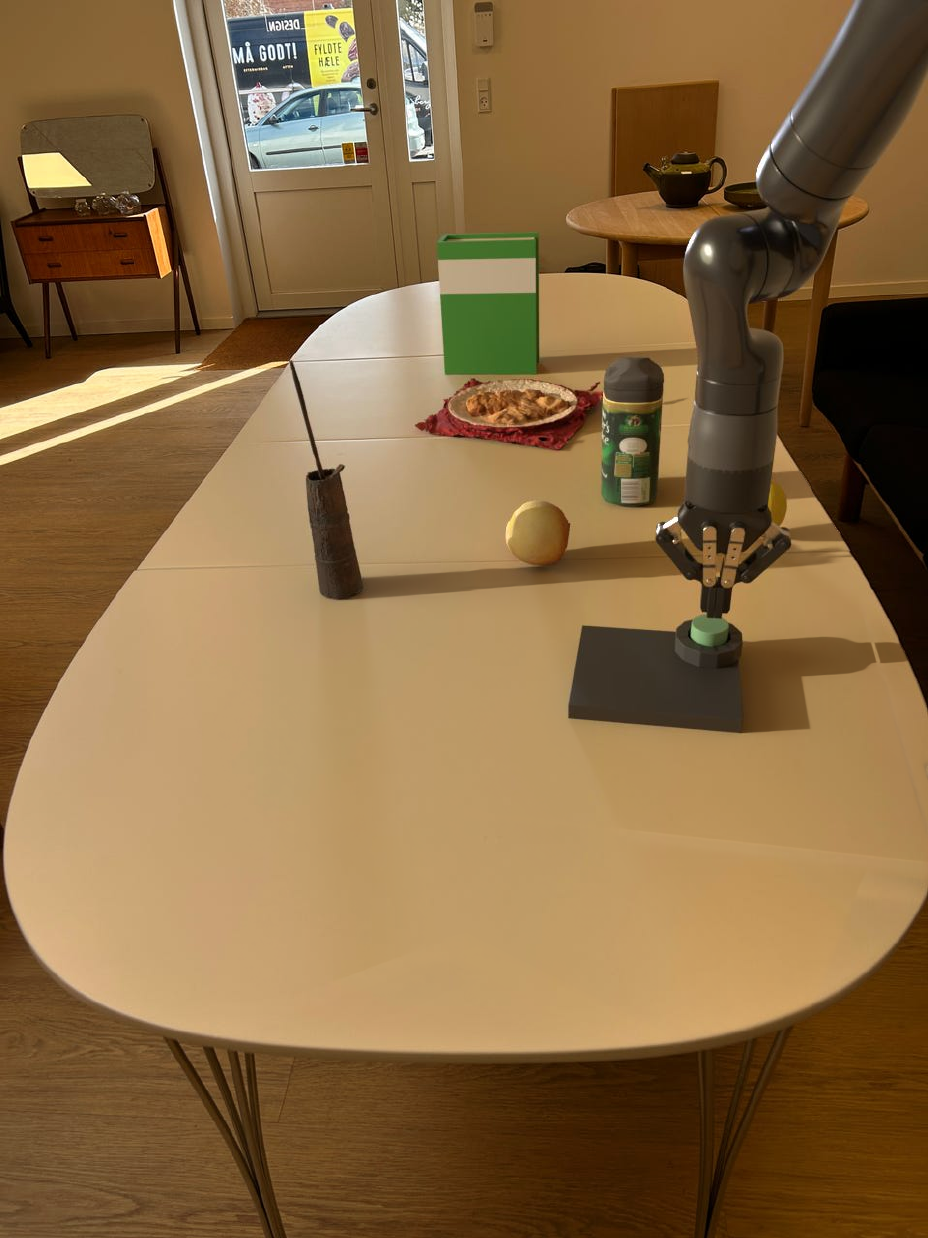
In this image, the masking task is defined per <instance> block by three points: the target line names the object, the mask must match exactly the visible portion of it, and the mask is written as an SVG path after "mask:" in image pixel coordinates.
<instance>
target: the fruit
mask: <svg viewBox="0 0 928 1238" xmlns="http://www.w3.org/2000/svg"><path fill="white" fill-rule="evenodd" d="M570 530H571V522H569V519H567V517H566V515H565V513H564V511H563V510H562V509H561V508H560V507H558V506H557V505H556V504H553V503H551V502H550V501H544V500H530V501H526V502H524V503H523V504H521V506H520V507H518V508H517V509H516V510H515V511H514V513H513V514H512V517H511V518H510V519H509V520H508V522H507V525H506V529H505V543H506V545H507V547H508V549H509V550H510V552H511V553H512V555H514V557H515V558H516V559H518V560H519V561H521V562H523V563H526V564H528V565H532V566H546V565H548V566H549V565H551V564H552V565H553V564H554V565H555V564H556V562H557V561H558V562H559V561H560V559H561V558H562V557H563V556H564V555H565V553H566V550H567V548H568V545H569V540H570V539H569V538H570Z"/></svg>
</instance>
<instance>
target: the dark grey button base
mask: <svg viewBox="0 0 928 1238" xmlns="http://www.w3.org/2000/svg"><path fill="white" fill-rule="evenodd" d="M693 619H694V618H692V619H689V620H685V621H683V622H682V623H680V624H679V625H678V626H677V627H676V628H675V631H673V630H671V631H670V630H660V629H659V630H655V629H643V628H642V629H641V628H629V627H628V628H627V627H614V626H613V627H612V626H600V625H599V626H598V625H584V624H583V625H581V628H580V629H581V630H580V635H579V640H578V647H577V651H576V659H575V663H574V671H573V676H572V681H571V688H570V693H569V698H568V705H567V718H568V719H571V720H572V719H573V720H583V721H594V722H606V723H607V722H608V723H618V724H630V725H642V726H653V727H663V728H664V727H665V728H676V729H687V730H697V731H698V730H699V731H709V732H710V731H711V732H720V733H733V734H742V729H743V721H744V715H743V702H742V701H743V699H742V690H741V689H742V688H741V676H740V663H739V659H740V658H741V657H742V651H743V643H744V642H743V641H744V640H743V633H742V631H741V630H740V629H739V628H737V626H735V625H734V624H733V623H732V622H728V624H729V629H728V637H727V642H726V643H725V644H724V645H722V646H718V647H707V646H702V645H699V644H697V643H694V642H693V641H692V639H691V626H692V621H693Z"/></svg>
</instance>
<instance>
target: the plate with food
mask: <svg viewBox="0 0 928 1238" xmlns="http://www.w3.org/2000/svg"><path fill="white" fill-rule="evenodd" d="M599 385H601V381H598V382H595V383H594V385H591V386H590V388H588V389H587V390H580V389H579V390H578V389H575V390H573V388H570V387H567V386H565V385H563V384H556V383H552V382H548V381H543V380H540V379H538V380H535V379H531V378H530V379H528V378H527V379H525V378H524V379H521V378H520V379H516V378H515V379H506V380H494V381H491V380H489V381H487V382H483V381H479V380H476V378H475V377H471V378H470V380H467V382H466V383H464V385H463V386H462V387H461V388H460V389H458V390H456V391H455V393H453V395H452V396H450V397H448V398H443V402H444V403H443V405H442V408H441V409H440V410H439V411H438V412H437V413H434V414H433V413H432V414H429V415H428V417H427V418H426V419H425V418H424V419H423V421H420V422H417V423H416V424H415V423H414V427H415V428H417V429H418V430H420V432H423V431H424V430H425V432H426V433H427V432H428V435H439V436H444V437H452V438H453V437H454V436H462V437H466V438H480V439H485V440H488V441H489V440H490V441H491V440H493V441H496V442H500V443H517V444H519V445H520V446H525V445H526V446H532V447H534V446H536V447H538V448H543V449H546V450H548V449H549V450H553V451H556V450H561V449H562V447H563V446H564V445H566V443H567V440H570V439H571V438H572V437H573V435H574V434H575V433H576V432H577V430H578V429H579V428H580V427H581V426H582V425H583V424H584V422H585V420H586V417H587V414H586V413H584V412H583V411H589V410H590V409H595V408H596V407H597V406H598V405H599V404H600V402H601V398H603V390H601V391H595V390H596V389H597V388H598V386H599ZM590 392H592V393H590ZM539 438H546V440H541V439H539Z"/></svg>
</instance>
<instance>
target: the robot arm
mask: <svg viewBox="0 0 928 1238" xmlns="http://www.w3.org/2000/svg"><path fill="white" fill-rule="evenodd" d="M809 77H810V78H809V79H808V80H807V82H806V84H805V86H804V87H803V88H802V91H801V92H800V93H799V95H798V97H797V98H796V100H795V102H794V103H793V105H792V106H791V108H790V110H789V111H788V113H787V114H786V116H785V118H784V119H783V121H782V123H781V124H780V126H779V128H778V129H777V130H776V133H775V134H774V136H773V138H772V139H771V141H770V142H769V144H768V146H767V147H766V149H765V151H764V153H763V155H762V157H761V159H760V161H759V163H758V166H757V171H756V173H755V174H756V177H755V184H756V189H757V193H758V195H759V197H760V198H761V200H762V201H763V204H764V205H766V206H767V207H765V208H761V209H760V208H759V209H754V210H748V211H743V212H735V213H728V214H723V215H717V216H714V217H711V218H708V219H707V220H706V221H704V222H702V223H701V224H700V225H699V226H698V227H697V228H696V230H695V232H694V233H693V235H692V236H691V238H690V240H689V242H688V244H687V247H686V251H685V253H684V258H683V267H682V270H683V272H682V273H683V274H682V275H683V284H684V289H685V290H684V291H685V295H686V299H687V305H688V309H689V312H690V313H689V314H690V319H691V326H692V331H693V332H692V333H693V335H694V341H695V347H696V352H697V367H696V375H695V376H696V378H695V390H694V404H693V408H692V414H691V417H690V423H689V430H688V431H689V432H688V436H687V455H686V456H687V457H686V458H687V459H686V469H685V470H686V471H685V483H684V484H685V485H684V495H683V496H684V497H683V501H682V504H681V505H680V507H679V508H678V510H677V516H675V517H674V518H672V519H671V520H669V521H667V522H666V521H660V522H658V523H657V524H656V528H655V537H654V538H655V539H654V541H655V542H656V543H657V545H658V546H659V547H660V548H661V550H662V551H663V552H664V554H666V556H667V557H668V558H669V559H670V561H671V563H673V564H674V566H675V567H676V568H677V570H678V571H679V572H680V573H681V575H682V576H683V577H684V578H685V579H686V580H687V581H693V580H694V581H696V582H699V583H700V584H701V588H700V596H699V597H700V599H699V604H700V605H699V608H700V612H701V613H705V614H707V618H717V619H722V618H723V614H725V615H726V614H728V613H729V612H730V610H731V603H732V594H733V588H734V586H735V585H736V584H739V583H743V584H751V583H752V582H754V581H755V580H756V579H757V578H759V576H760V575H761V574H763V573H764V572H765V571H766V570H767V569H768V568H769V567H770V566H772V565H773V564H774V563H775V562H776V561H777V560H778V559H780V557H782V556H783V555H784V554H785V553H787V551H789V549H791V547H792V537H791V533H790V529H789V528H787V527H786V526H778V525H776V524H775V523H774V522H772V517H771V512H770V510H769V508H768V501H769V494H770V486H771V480H772V477H773V470H774V463H775V461H774V460H775V453H776V446H777V438H778V427H779V426H778V425H779V422H778V420H779V419H778V418H779V417H778V408H779V396H780V388H781V381H782V375H783V374H782V373H783V368H784V367H783V366H784V345H783V342H782V340H781V338H780V337H779V336H778V335H776V334H775V333H774V332H772V331H769V330H766V329H762V328H757V327H750V325H749V319H748V307H749V305H753V304H757V303H764V302H768V301H774V300H779V299H782V298H785V297H788V296H790V295H793V294H794V293H796V292H797V291H799V290H800V289H801V288H802V287H803V286H804V285H805V284H807V283H808V282H809V281H810V280H811V279H812V278H813V276H814V275H815V274H816V273H817V271H818V270H819V268H820V266H821V265H822V263H823V261H824V259H825V257H826V254H827V251H828V249H829V247H830V245H831V242H832V239H833V237H834V235H835V233H836V232H837V228H838V226H839V223H840V221H841V217H842V214H843V212H844V209H845V206H846V203H848V201H849V200H850V199H851V198H852V196H853V195H854V194H855V192H856V191H857V190H858V189H859V187H860V186H861V185H862V183H863V182H864V180H866V178H867V176H868V175H869V174H870V172H871V171H872V170H873V168H874V167H875V166H876V164H877V163H878V162H879V161H880V160H881V158H882V157H883V156H884V155H885V153H886V151H887V150H888V148H889V147H890V145H892V143H893V141H894V140H895V138H896V137H897V135H898V134H899V132H900V131H901V129H902V128H903V126H904V124H905V122H906V120H907V119H908V118H909V115H910V114H911V112H912V110H913V108H914V106H915V104H916V102H917V100H918V98H919V96H920V94H921V91H922V89H923V87H924V85H925V82H926V80H927V78H928V0H853V1H852V3H851V5H850V7H849V9H848V11H847V12H846V15H844V18H843V20H842V22H841V24H840V26H839V27H838V29H837V31H836V33H835V35H834V37H833V39H832V41H831V42H830V44H829V45H828V47H827V49H826V51H825V53H824V54H823V55H822V57H821V58H820V61H819V63H818V64H817V66H816V68H814V71H813V72H812V74H811V76H809ZM682 530H683V532H684V533H685V535H686V536H687V538H688V539H689V540H690V541H691V543H692V544H693V546H694V548H696V549H697V550H698V551H700V552H701V553H702V562H699V561H698V560H697V558H696V557H694V554H692V553H691V551H690V550H689V549H688V548H687V546H686V545H685V544H684V543H683V540H682V539H683V532H682ZM765 532H766V533H765ZM764 533H765V534H764ZM763 534H764V535H763ZM762 535H763V536H762ZM761 536H762V543H761V544H760V545H759V546H758V547H756V548H755V549H754V550H753V551H752V552H751V553H750V554H749V555H747V557H745V558H744V559H743V560H742V561H741V562H740V559H741V554H742V553H744V552H746V551H748V549H750V547H752V545H754V544H755V543H756V542H757V541H758V540H759V539H760V538H761ZM719 554H722V560H721V565H720V571H719V576H717V555H719Z"/></svg>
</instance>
